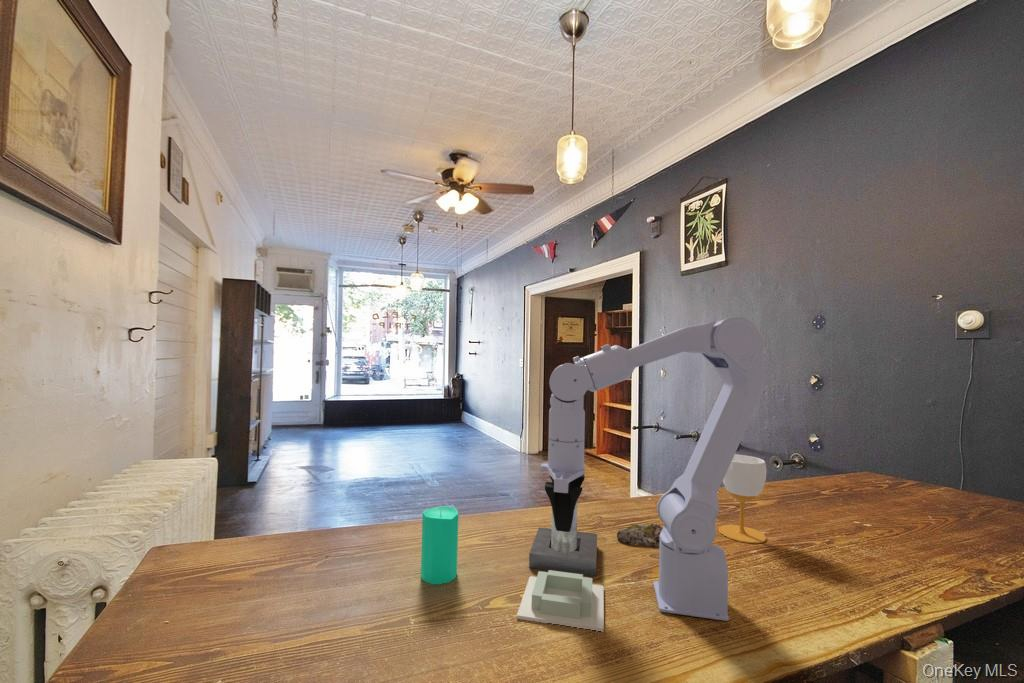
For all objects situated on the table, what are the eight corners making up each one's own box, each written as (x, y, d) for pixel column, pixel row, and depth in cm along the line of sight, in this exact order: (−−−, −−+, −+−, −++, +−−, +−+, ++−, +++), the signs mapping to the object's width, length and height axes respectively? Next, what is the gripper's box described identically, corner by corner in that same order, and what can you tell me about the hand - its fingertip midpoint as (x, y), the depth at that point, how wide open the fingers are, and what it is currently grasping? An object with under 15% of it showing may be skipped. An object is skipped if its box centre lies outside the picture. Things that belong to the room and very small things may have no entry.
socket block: (596, 546, 84) (597, 533, 84) (595, 576, 73) (596, 561, 73) (538, 539, 86) (538, 527, 86) (529, 567, 75) (529, 553, 75)
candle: (422, 586, 68) (424, 510, 69) (419, 568, 74) (421, 498, 74) (459, 582, 70) (461, 507, 70) (454, 564, 76) (456, 495, 76)
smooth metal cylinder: (577, 542, 70) (578, 493, 70) (575, 553, 66) (576, 501, 66) (552, 539, 70) (553, 490, 71) (549, 550, 67) (550, 498, 67)
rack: (603, 589, 69) (603, 573, 69) (603, 632, 58) (603, 613, 58) (529, 579, 71) (530, 563, 71) (516, 618, 60) (517, 600, 61)
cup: (710, 531, 93) (711, 457, 93) (731, 522, 98) (731, 452, 98) (754, 547, 85) (755, 466, 86) (774, 536, 91) (774, 460, 91)
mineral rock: (653, 518, 94) (673, 522, 86) (656, 540, 93) (677, 546, 85) (607, 523, 92) (623, 527, 84) (610, 545, 90) (626, 551, 83)
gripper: (547, 429, 76) (546, 506, 76) (534, 446, 62) (531, 540, 62) (587, 432, 75) (586, 510, 75) (583, 449, 61) (581, 546, 60)
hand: (564, 524), depth 68 cm, fingers closed on smooth metal cylinder, 4 cm apart
